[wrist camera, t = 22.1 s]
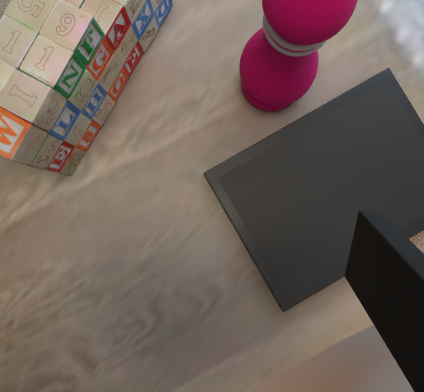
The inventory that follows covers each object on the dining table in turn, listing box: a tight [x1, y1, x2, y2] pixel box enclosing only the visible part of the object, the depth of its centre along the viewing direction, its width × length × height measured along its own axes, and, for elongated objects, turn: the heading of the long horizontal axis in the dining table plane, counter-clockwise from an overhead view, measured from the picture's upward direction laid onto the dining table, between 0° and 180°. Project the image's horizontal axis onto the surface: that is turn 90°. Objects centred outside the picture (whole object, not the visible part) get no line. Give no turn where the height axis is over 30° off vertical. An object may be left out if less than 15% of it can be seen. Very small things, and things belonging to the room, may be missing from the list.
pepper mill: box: [240, 0, 357, 111], centre depth 30 cm, size 7×7×20 cm
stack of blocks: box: [0, 0, 173, 176], centre depth 34 cm, size 21×6×12 cm, turn 150°
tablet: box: [204, 68, 424, 312], centre depth 39 cm, size 22×16×1 cm
